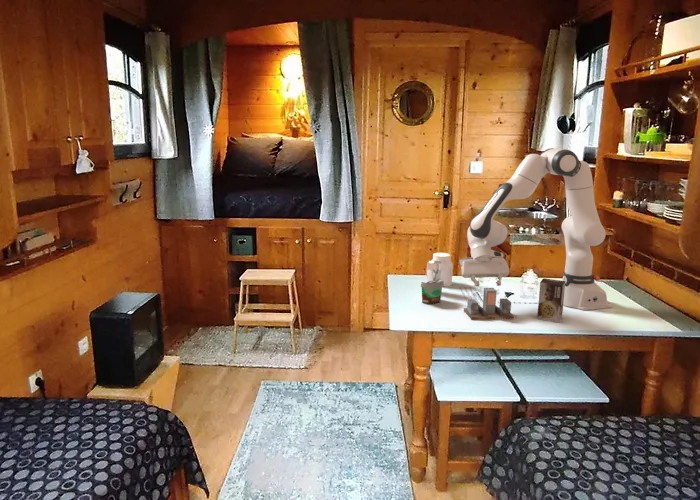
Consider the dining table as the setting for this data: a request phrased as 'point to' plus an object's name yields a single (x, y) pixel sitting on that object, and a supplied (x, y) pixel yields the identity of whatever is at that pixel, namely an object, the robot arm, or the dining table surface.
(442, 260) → the jar
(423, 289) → the food container
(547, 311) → the coffee box
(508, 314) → the rail board
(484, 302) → the grey orange block
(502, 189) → the robot arm
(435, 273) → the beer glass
